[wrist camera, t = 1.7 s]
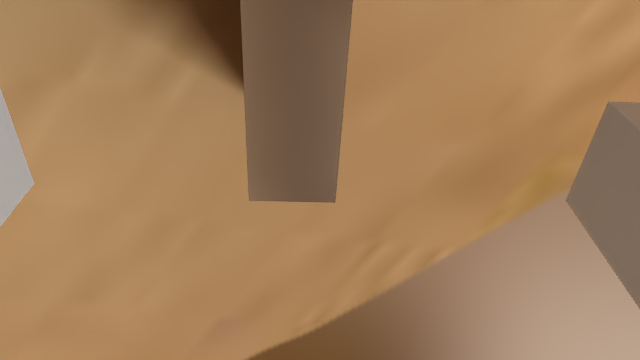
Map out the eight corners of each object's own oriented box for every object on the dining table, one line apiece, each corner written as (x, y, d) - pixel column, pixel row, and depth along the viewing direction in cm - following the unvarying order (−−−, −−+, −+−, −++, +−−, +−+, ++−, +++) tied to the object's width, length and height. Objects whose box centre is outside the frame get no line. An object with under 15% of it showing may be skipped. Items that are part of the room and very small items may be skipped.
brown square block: (262, 105, 19) (248, 200, 14) (259, -66, 16) (239, -18, 11) (326, 107, 19) (335, 202, 14) (338, -62, 16) (354, -13, 11)
